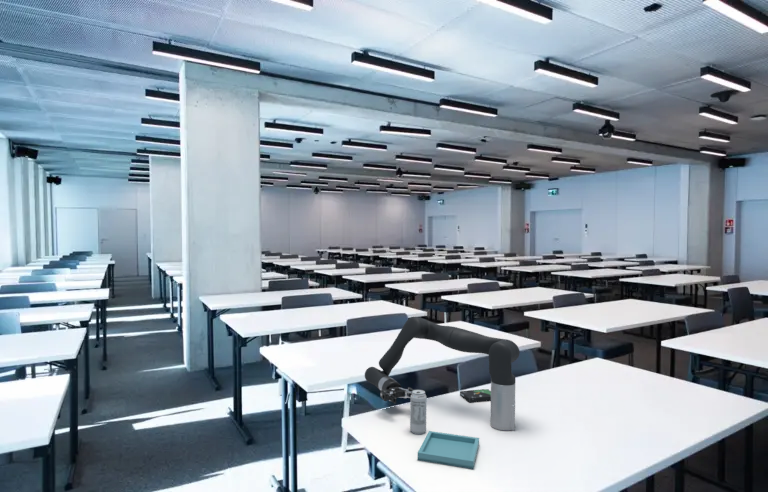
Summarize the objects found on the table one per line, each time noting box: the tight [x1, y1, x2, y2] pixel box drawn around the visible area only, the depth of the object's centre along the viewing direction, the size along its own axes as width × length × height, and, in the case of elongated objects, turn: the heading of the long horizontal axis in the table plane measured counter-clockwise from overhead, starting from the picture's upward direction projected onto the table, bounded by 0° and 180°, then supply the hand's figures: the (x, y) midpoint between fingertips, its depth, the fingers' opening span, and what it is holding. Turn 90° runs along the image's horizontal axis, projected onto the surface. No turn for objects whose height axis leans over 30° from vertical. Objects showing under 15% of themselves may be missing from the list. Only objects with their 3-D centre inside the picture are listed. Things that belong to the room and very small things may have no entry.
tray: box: [417, 430, 480, 470], centre depth 152 cm, size 18×18×2 cm
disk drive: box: [459, 388, 491, 404], centre depth 207 cm, size 10×3×15 cm
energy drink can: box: [409, 389, 428, 435], centre depth 169 cm, size 6×6×15 cm
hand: (405, 399), depth 179 cm, fingers open, 8 cm apart
